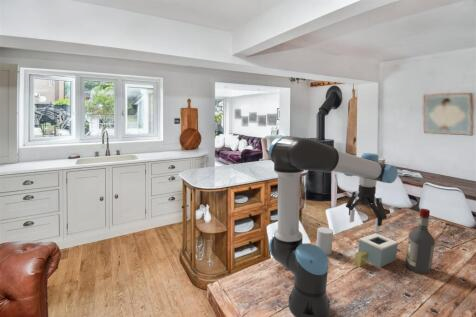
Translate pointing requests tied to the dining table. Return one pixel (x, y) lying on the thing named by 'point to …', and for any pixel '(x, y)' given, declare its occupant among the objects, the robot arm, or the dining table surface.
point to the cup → (325, 239)
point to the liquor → (420, 246)
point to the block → (361, 258)
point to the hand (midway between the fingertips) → (363, 226)
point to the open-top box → (379, 249)
